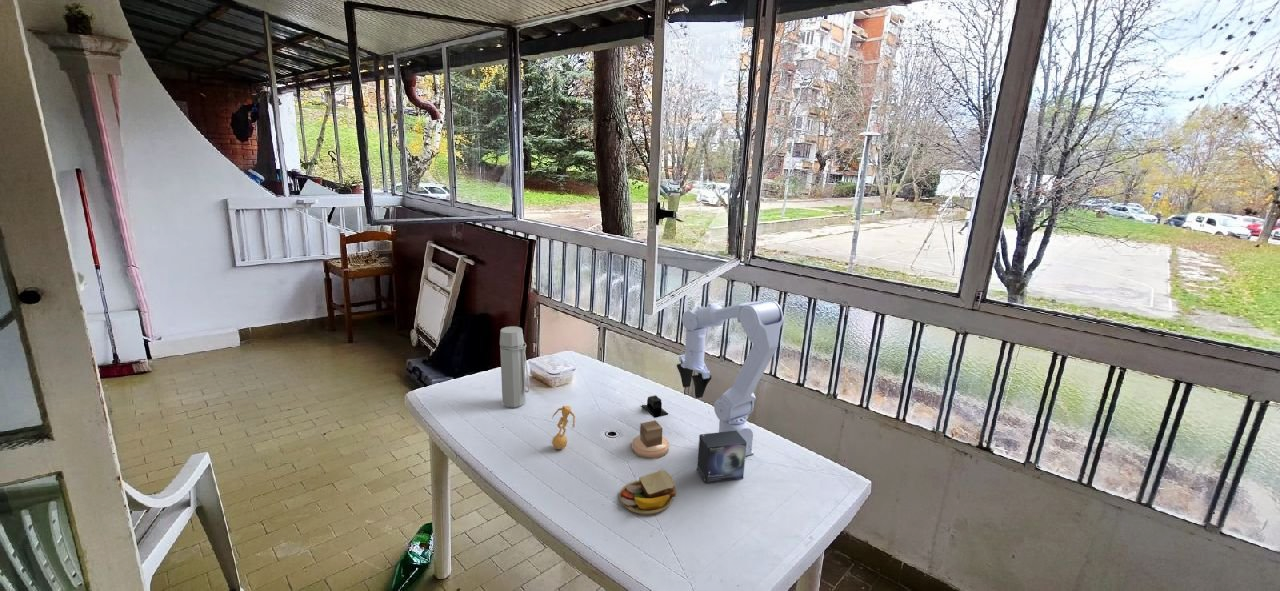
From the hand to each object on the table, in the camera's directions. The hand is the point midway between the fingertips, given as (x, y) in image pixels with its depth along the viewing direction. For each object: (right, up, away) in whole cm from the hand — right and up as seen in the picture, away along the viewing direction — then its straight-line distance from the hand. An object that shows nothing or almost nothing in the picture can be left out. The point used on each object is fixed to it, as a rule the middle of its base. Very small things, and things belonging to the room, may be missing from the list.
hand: (692, 391), depth 161 cm
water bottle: (-55, -6, +11) cm, 56 cm away
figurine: (-37, -13, -13) cm, 41 cm away
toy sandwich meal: (-14, -19, -34) cm, 41 cm away
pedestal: (-13, -13, -13) cm, 22 cm away
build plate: (-11, -8, +10) cm, 17 cm away
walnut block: (-13, -11, -13) cm, 22 cm away
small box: (+5, -17, -24) cm, 30 cm away
